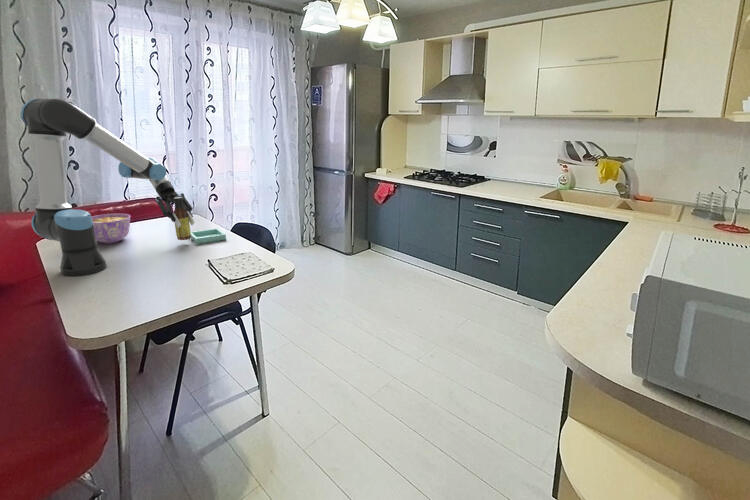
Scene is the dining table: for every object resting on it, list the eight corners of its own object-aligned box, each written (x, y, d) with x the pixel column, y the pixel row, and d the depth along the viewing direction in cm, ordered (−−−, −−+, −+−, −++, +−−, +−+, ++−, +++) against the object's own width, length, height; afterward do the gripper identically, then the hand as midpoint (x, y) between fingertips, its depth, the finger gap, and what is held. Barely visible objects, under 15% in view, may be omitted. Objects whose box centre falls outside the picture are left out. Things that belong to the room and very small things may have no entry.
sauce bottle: (193, 237, 205) (189, 196, 199) (186, 240, 199) (182, 198, 193) (180, 236, 205) (176, 196, 200) (173, 240, 200) (168, 198, 194)
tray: (226, 240, 210) (225, 234, 209) (196, 244, 202) (195, 238, 201) (218, 233, 221) (217, 228, 220) (189, 238, 213) (189, 232, 212)
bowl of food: (119, 247, 197) (114, 223, 194) (76, 246, 198) (71, 222, 194) (142, 235, 216) (138, 213, 213) (103, 235, 217) (99, 213, 213)
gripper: (179, 189, 212) (202, 225, 208) (140, 193, 197) (164, 233, 193) (184, 179, 208) (207, 216, 203) (145, 183, 193) (169, 223, 188)
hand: (186, 224), depth 198 cm, fingers closed on sauce bottle, 6 cm apart
